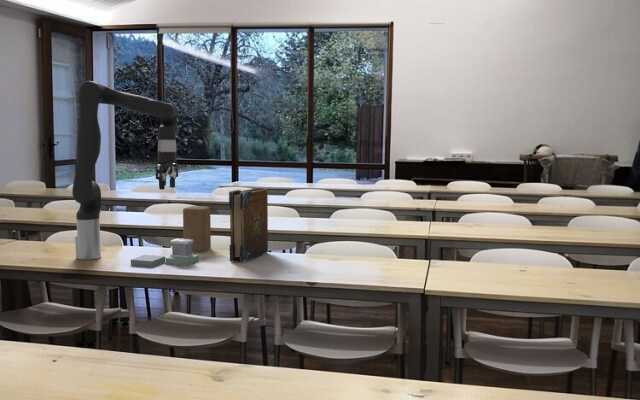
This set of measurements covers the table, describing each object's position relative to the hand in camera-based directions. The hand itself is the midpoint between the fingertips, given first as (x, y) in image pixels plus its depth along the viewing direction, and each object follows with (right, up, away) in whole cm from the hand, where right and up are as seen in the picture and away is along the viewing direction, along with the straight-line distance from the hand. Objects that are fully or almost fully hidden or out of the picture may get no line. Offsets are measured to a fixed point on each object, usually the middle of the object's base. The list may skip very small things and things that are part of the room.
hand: (167, 188), depth 256 cm
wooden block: (+8, -28, +23) cm, 37 cm away
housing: (+7, -29, -3) cm, 30 cm away
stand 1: (-6, -31, -6) cm, 33 cm away
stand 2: (+7, -31, -3) cm, 32 cm away
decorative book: (+35, -30, +9) cm, 47 cm away
